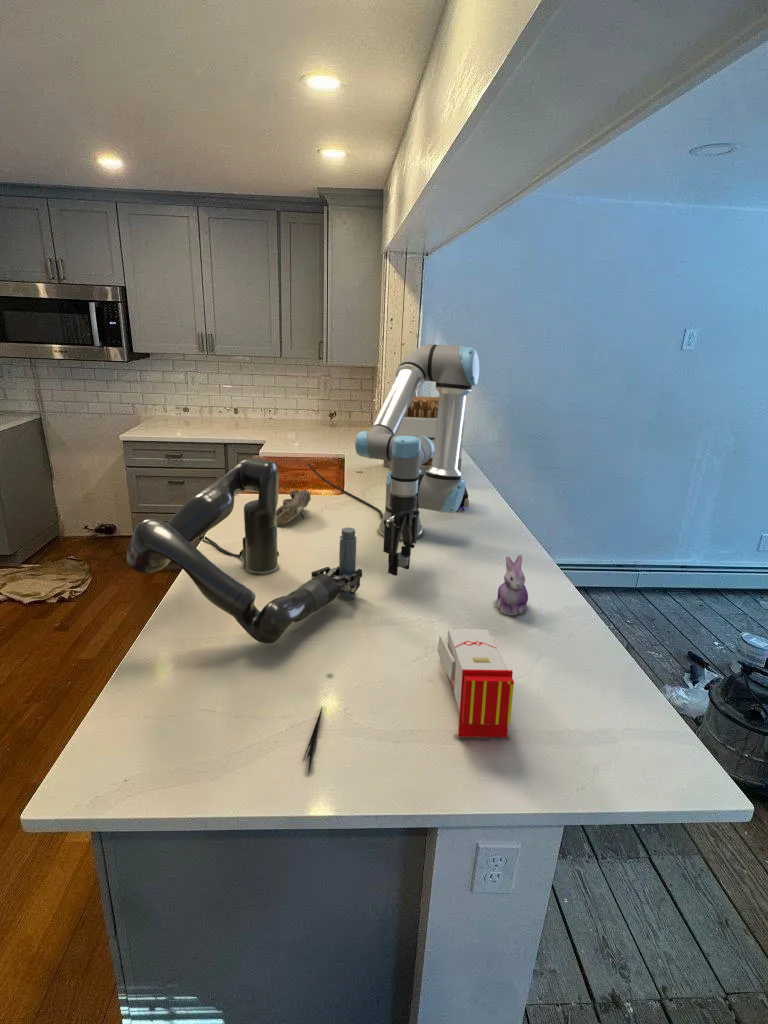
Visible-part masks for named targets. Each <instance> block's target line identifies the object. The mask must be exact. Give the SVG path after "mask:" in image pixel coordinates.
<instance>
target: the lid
mask: <svg viewBox="0 0 768 1024" xmlns="http://www.w3.org/2000/svg"><path fill="white" fill-rule="evenodd" d="M397 553H398V554H399V555H398V568H402V567H405V566H407V565H408V562H409V556H408V555H407V554H405V553H401V551H400V552H398V551H397Z"/></svg>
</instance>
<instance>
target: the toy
mask: <svg viewBox="0 0 768 1024" xmlns="http://www.w3.org/2000/svg"><path fill="white" fill-rule="evenodd" d="M446 640H447V643H446V641H445V639H444V636H443V635H442V634H439V637H438V646H437V656H438V657H439V659H440V661H441V663H442V666H443V668H444V670H445V672H446V674H447V677H448V679H449V681H450V684H451V687H452V690H453V693H454V697H455V701H456V705H457V708H458V711H459V714H458V715H459V716H458V730H457V731H458V732H457V737H458V738H508V731H509V726H510V725H511V717H512V707H513V697H514V696H513V695H514V684H515V680H514V679H513V673H514V671H513V670H512V669H508V667H507V665H506V662H505V661H504V659H503V658H502V655H501V653H500V651H499V649H498V647H497V643H496V639H495V637H494V635H493V634H491V632H490V631H489V629H467V628H466V629H465V628H463V629H461V628H460V629H459V628H448V630H447V639H446Z"/></svg>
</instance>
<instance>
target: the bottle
mask: <svg viewBox="0 0 768 1024" xmlns="http://www.w3.org/2000/svg"><path fill="white" fill-rule="evenodd" d="M357 542H358V539H357V536H356V529H355V528H354V527H342V528H341V534H340V536H339V542H338V543H339V545H338V546H339V549H338V566H339V576H342V575H345V574H347V575H350V574H352V573H353V572H355V571H356V570H357ZM350 581H351V578H350ZM337 597H338V598H339V599H342V600H346V601H347V600H352V599H355V597H356V593H355V594H350V591H344V592H341V593H339V594H338V595H337Z"/></svg>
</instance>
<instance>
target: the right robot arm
mask: <svg viewBox="0 0 768 1024" xmlns="http://www.w3.org/2000/svg"><path fill="white" fill-rule="evenodd" d="M395 370H396V371H395V379H394V382H393V384H392V385H391V388H390V389H389V392H388V393H387V396H386V397H385V399H384V401H383V404H382V405H381V408H380V410H379V411H378V413H377V416H376V418H375V420H374V421H373V424H372V425H371V427H370V429H369V431H368V430H366V431H365V430H361V431H360V432H358V433H357V435H356V437H355V443H354V447H355V448H354V449H355V452H356V454H357V455H358V456H359V457H362V458H366V459H370V460H371V459H372V460H379V461H380V460H381V461H384V460H387V461H392V462H391V471H390V470H389V472H388V473H387V475H386V482H385V504H384V505H385V507H384V508H385V509H384V513H383V512H382V510H381V509H379V508H378V507H376V506H374V505H373V504H371V503H369V502H367V501H366V500H364V499H362V498H360V497H358V496H356V495H354V494H352V493H351V492H349V491H347V490H345V489H343V488H341V487H339V486H337V485H336V484H333V483H332V482H331V481H329V480H328V479H326V478H325V477H323V476H322V475H321V474H320V473H319V472H317V470H315V468H314V467H313V466H312V465H311V464H310V463H308V464H307V466H308V467H309V468H310V469H311V470H312V471H313V473H314V474H315V475H316V476H318V477H319V478H320V479H321V480H323V482H326V483H327V484H328V485H330V486H332V487H333V488H335V489H336V490H338V491H340V492H342V493H344V494H345V495H347V496H350V497H352V498H354V499H355V500H358V501H359V502H361V503H362V504H364V505H366V506H368V507H370V508H372V509H374V510H375V511H377V512H378V513H379V516H380V518H381V522H379V526H378V533H379V534H380V535H381V536H382V537H383V550H382V551H383V553H385V554H387V555H388V559H387V563H388V569H387V573H388V574H390V575H392V576H395V577H397V576H398V570H399V567H398V555H399V554H398V553H397V552H398V549H399V543H400V541H402V543H403V545H401V547H400V548H401V549H400V552H401V553H405V554H407V555H408V556H409V562H408V565H407V566H405V567H401V568H402V569H404V570H407V571H408V570H410V564H411V555H412V554H411V552H412V549H415V544H417V539H418V538H420V537H421V536H422V535H423V525H422V524H421V518H420V510H419V509H422V510H428V511H433V512H439V513H442V514H443V513H446V514H453V513H456V512H457V511H458V509H460V508H459V506H460V504H461V501H462V498H463V495H464V491H465V487H466V481H465V480H463V479H462V473H460V472H459V470H458V469H457V466H458V458H459V449H460V441H461V440H462V438H461V433H462V425H463V419H464V417H465V416H464V415H465V407H466V398H467V395H468V394H470V393H471V392H472V388H473V387H474V386H477V385H478V382H479V377H480V359H479V355H478V352H477V350H476V349H475V348H474V347H470V346H464V345H451V344H450V345H449V344H434V343H429V344H424V345H421V346H418V347H416V348H415V349H414V350H412V351H411V352H409V354H407V355H406V356H405V357H404V358H403V359H402V360H401V362H400V363H399V365H398V367H397V368H396V369H395ZM425 382H434V383H435V389H436V390H437V392H438V395H439V396H438V397H439V403H438V412H437V421H436V431H435V440H434V445H433V442H432V441H431V440H430V439H429V438H428V437H425V436H417V437H414V436H396V433H397V431H398V429H399V426H400V424H401V422H402V420H403V418H404V416H405V414H406V412H407V410H408V408H409V405H410V403H411V401H412V399H413V397H414V396H416V392H417V391H418V389H419V388H421V387H422V386H424V384H425ZM432 456H433V458H432V465H430V466H429V468H427V469H426V472H425V474H424V473H423V474H422V469H421V468H420V467H421V466H420V465H422V464H424V463H426V462H428V460H429V459H430V458H431V457H432Z"/></svg>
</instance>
